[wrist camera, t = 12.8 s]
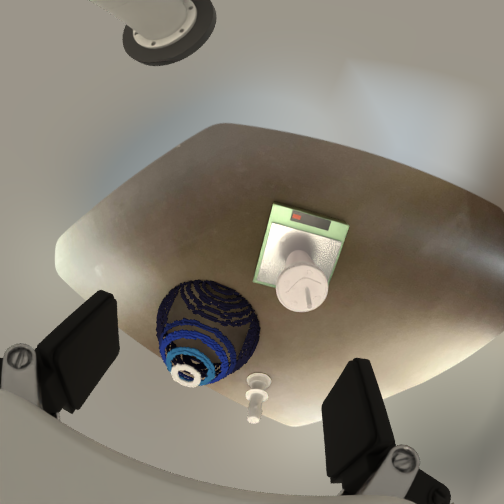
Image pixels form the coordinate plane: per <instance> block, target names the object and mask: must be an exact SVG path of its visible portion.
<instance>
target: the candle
mask: <svg viewBox="0 0 504 504" xmlns="http://www.w3.org/2000/svg"><path fill="white" fill-rule="evenodd" d="M247 383H248V385H249V386H250V388H251V390H249V391H247V392H246V395H245V396H246V398H247V399H248V400H249V401H250V403H249V407H248V415H247V420H248V422H250V423H258V422H259V421H260V419H261V414H262V402H265V401H266V400H267V399H268V394H267V393H266V392H265V391H263V390H265V389H266V388H267V387H269V386H270V384H271V379H270V377H269V376H267V375H266V374H263V373H253V374H251V375H249V376H248V377H247Z"/></svg>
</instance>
